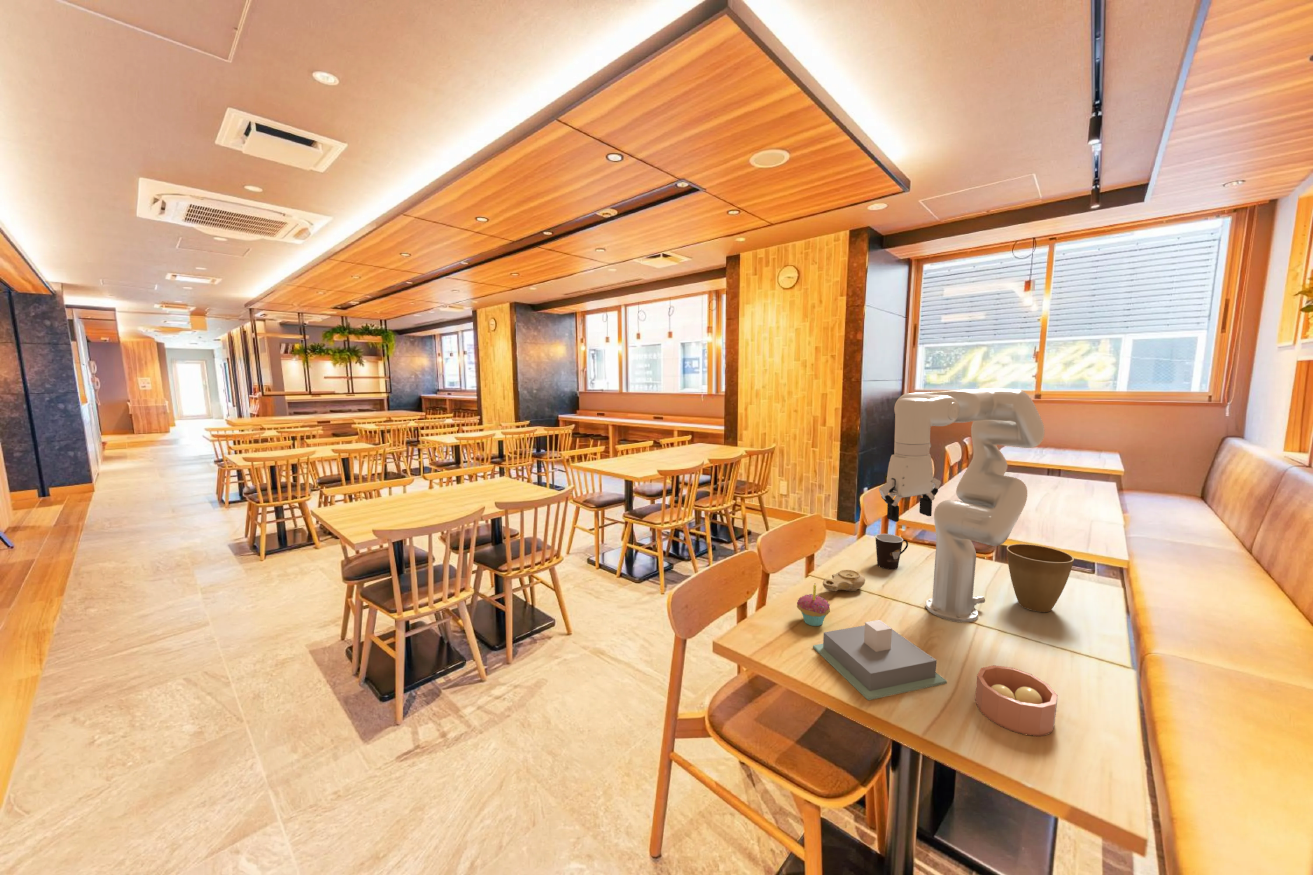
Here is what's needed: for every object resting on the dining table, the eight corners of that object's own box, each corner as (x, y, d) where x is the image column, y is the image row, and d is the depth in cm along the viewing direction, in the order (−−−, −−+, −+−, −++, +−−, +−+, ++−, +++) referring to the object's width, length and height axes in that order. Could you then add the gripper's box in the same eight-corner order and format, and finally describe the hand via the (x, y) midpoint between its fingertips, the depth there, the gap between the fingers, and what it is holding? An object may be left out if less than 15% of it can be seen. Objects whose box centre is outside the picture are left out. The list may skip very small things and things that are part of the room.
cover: (881, 637, 123) (883, 603, 122) (935, 677, 107) (938, 638, 106) (823, 647, 119) (824, 612, 117) (870, 691, 103) (872, 651, 101)
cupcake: (831, 631, 127) (833, 587, 125) (797, 628, 129) (799, 585, 127) (827, 615, 135) (828, 573, 134) (795, 612, 137) (796, 571, 135)
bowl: (1008, 687, 104) (1010, 661, 103) (1070, 728, 92) (1073, 699, 91) (961, 698, 101) (963, 671, 100) (1019, 741, 89) (1022, 711, 88)
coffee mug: (877, 570, 165) (879, 541, 163) (870, 560, 173) (872, 533, 172) (914, 572, 163) (916, 543, 162) (906, 562, 171) (907, 534, 170)
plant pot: (1079, 611, 136) (1085, 556, 134) (1049, 624, 129) (1055, 566, 127) (1020, 590, 149) (1024, 539, 147) (990, 600, 143) (995, 548, 140)
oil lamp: (820, 594, 148) (820, 579, 147) (832, 577, 160) (833, 563, 159) (857, 603, 142) (858, 587, 141) (867, 585, 154) (868, 570, 153)
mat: (881, 635, 125) (882, 633, 125) (946, 683, 106) (947, 680, 106) (812, 647, 120) (813, 645, 120) (868, 700, 101) (868, 697, 101)
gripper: (928, 443, 123) (925, 508, 126) (870, 450, 119) (869, 517, 122) (953, 448, 116) (950, 517, 119) (893, 455, 112) (891, 527, 115)
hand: (909, 517), depth 120 cm, fingers open, 9 cm apart
